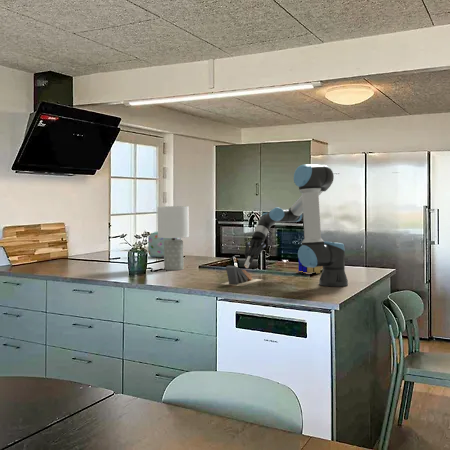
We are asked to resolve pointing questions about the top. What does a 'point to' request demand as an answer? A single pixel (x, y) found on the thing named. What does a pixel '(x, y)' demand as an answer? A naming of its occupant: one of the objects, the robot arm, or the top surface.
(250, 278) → the salmon orange block
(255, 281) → the birch board
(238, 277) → the grey rectangular slab
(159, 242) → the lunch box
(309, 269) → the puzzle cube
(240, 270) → the dark grey block
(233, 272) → the dark grey block
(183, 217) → the lamp
